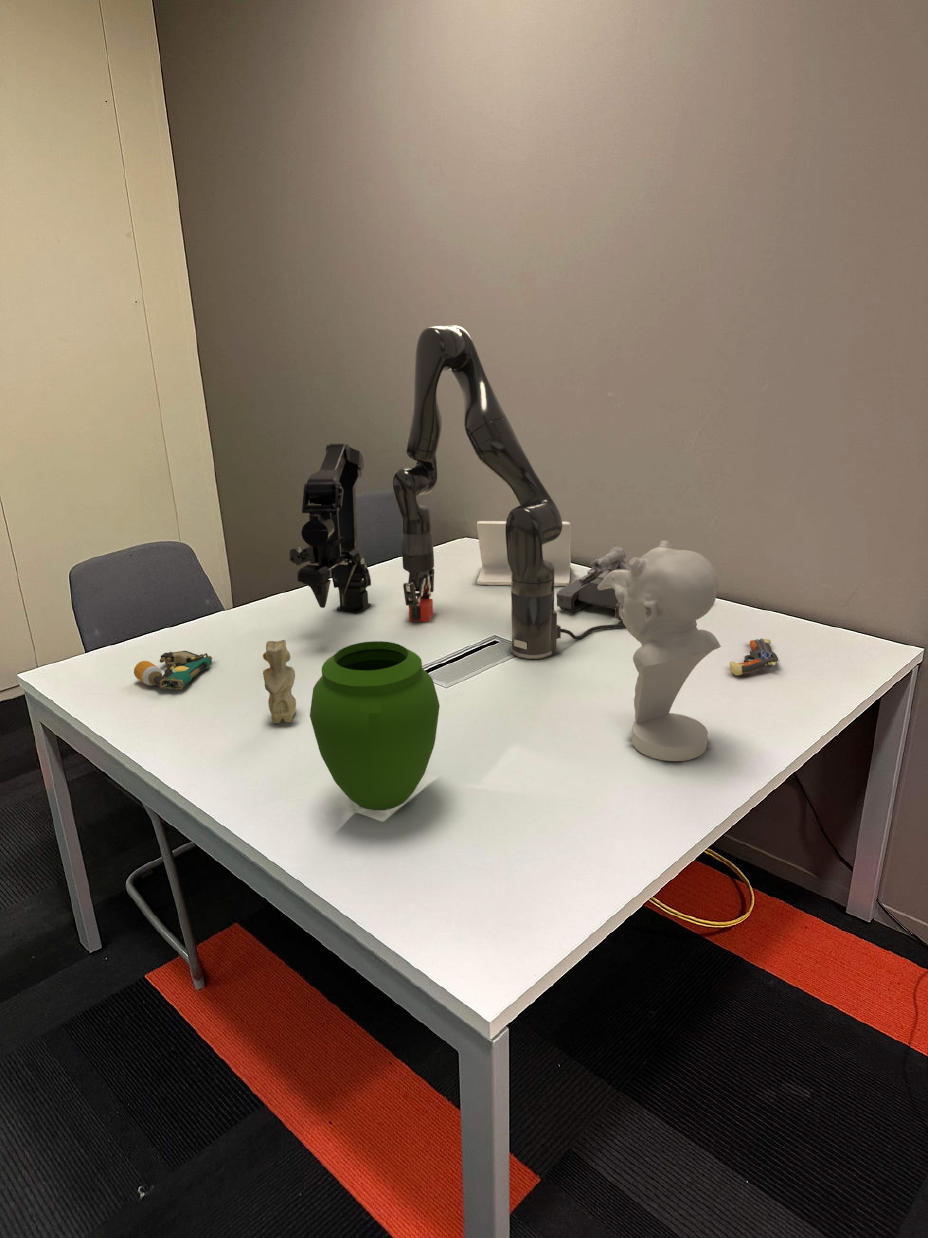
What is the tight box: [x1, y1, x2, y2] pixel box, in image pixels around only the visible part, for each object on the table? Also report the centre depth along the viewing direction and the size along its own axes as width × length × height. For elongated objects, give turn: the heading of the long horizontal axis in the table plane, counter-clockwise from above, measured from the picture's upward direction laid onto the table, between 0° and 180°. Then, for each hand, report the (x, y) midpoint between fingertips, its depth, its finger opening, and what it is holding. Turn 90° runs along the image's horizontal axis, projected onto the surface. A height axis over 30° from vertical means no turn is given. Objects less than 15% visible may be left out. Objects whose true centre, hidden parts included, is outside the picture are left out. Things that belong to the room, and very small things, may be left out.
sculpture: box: [262, 639, 297, 724], centre depth 158 cm, size 6×7×15 cm
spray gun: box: [133, 650, 213, 690], centre depth 180 cm, size 4×17×15 cm
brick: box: [408, 597, 434, 623], centre depth 209 cm, size 5×5×4 cm
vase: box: [309, 640, 441, 811], centre depth 130 cm, size 20×20×24 cm
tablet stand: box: [476, 520, 572, 587], centre depth 236 cm, size 18×25×17 cm
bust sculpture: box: [597, 540, 722, 762], centre depth 146 cm, size 16×24×35 cm
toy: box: [556, 546, 630, 622], centre depth 212 cm, size 25×20×15 cm
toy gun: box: [729, 638, 780, 676], centre depth 179 cm, size 3×19×10 cm
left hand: (332, 600), depth 194 cm, fingers open, 9 cm apart
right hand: (420, 615), depth 210 cm, fingers closed on brick, 5 cm apart
